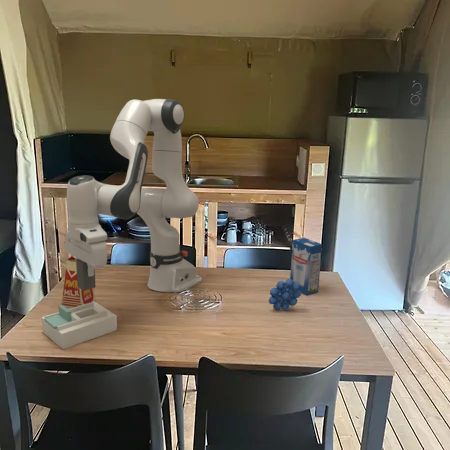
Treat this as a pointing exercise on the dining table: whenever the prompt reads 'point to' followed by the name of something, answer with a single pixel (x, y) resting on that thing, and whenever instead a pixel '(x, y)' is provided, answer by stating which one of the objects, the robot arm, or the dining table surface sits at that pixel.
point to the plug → (84, 276)
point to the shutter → (60, 317)
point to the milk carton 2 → (306, 265)
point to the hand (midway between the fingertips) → (86, 273)
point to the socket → (82, 325)
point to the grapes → (285, 294)
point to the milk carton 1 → (74, 288)
